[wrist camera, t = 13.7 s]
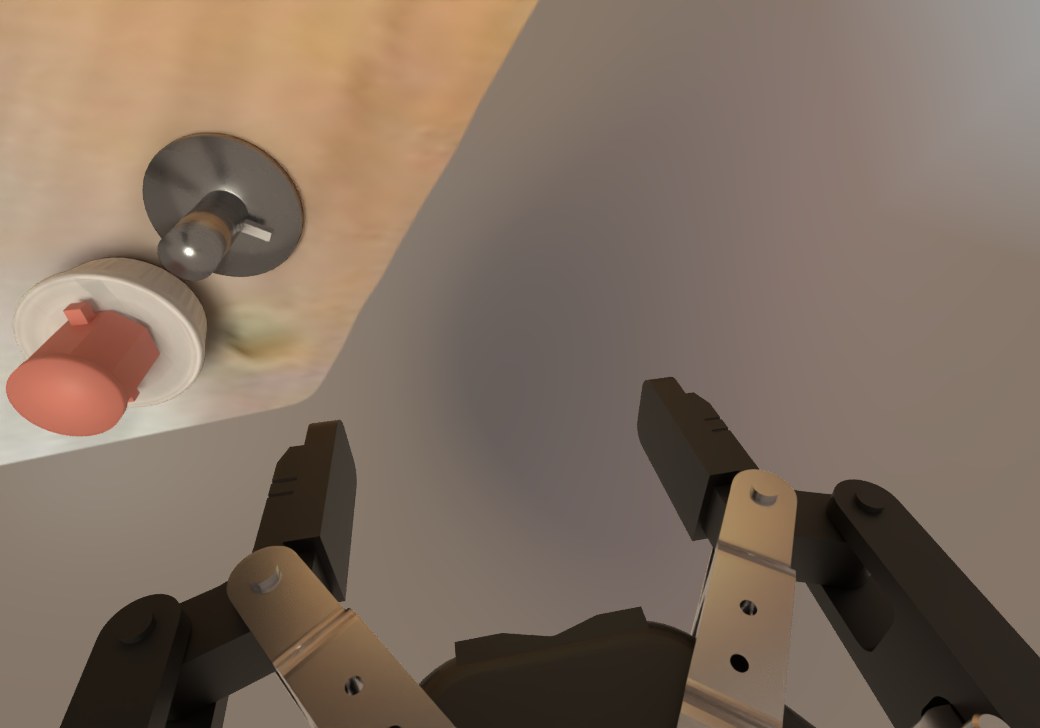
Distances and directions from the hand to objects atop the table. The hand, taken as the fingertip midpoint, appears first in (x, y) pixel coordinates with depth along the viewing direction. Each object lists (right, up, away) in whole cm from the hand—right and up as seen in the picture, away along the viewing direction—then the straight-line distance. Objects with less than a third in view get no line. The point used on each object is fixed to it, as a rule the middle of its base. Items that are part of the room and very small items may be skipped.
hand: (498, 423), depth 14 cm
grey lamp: (-20, +13, +24) cm, 34 cm away
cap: (-28, +3, +23) cm, 36 cm away
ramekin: (-29, +6, +27) cm, 40 cm away
